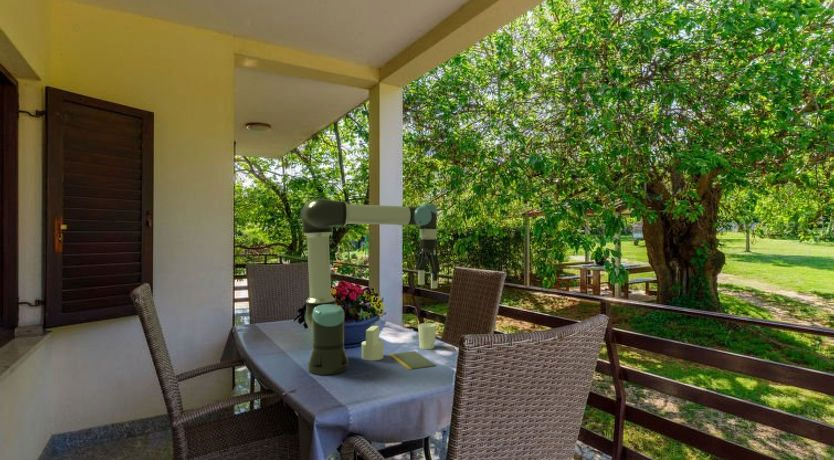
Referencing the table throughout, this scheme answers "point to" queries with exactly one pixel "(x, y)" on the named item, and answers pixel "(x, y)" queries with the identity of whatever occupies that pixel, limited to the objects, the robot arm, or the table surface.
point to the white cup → (426, 335)
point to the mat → (412, 360)
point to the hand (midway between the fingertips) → (427, 286)
